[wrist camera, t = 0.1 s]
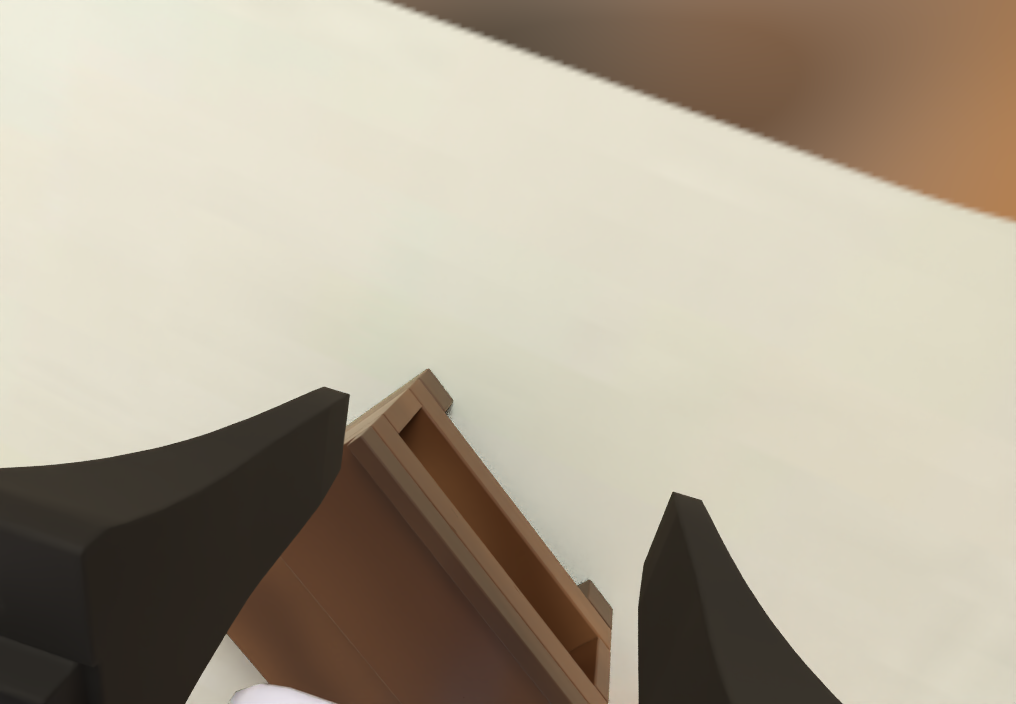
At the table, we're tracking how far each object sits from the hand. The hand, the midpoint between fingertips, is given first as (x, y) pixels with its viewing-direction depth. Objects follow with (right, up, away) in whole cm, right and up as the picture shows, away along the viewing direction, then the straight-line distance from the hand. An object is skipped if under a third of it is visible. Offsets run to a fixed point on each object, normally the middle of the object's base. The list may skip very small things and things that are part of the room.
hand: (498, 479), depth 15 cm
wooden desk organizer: (-4, -6, +14) cm, 16 cm away
